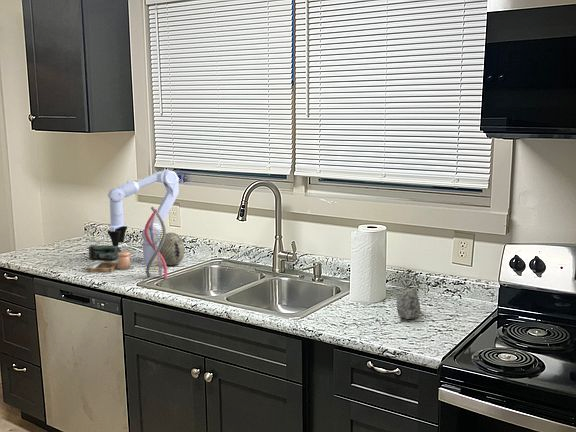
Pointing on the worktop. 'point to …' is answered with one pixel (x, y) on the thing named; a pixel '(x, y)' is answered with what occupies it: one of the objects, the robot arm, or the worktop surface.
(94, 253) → the sculpture
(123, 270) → the coaster
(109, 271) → the cold frame
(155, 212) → the dna model
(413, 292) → the rock
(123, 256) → the pot
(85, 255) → the worktop surface
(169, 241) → the decorative egg
